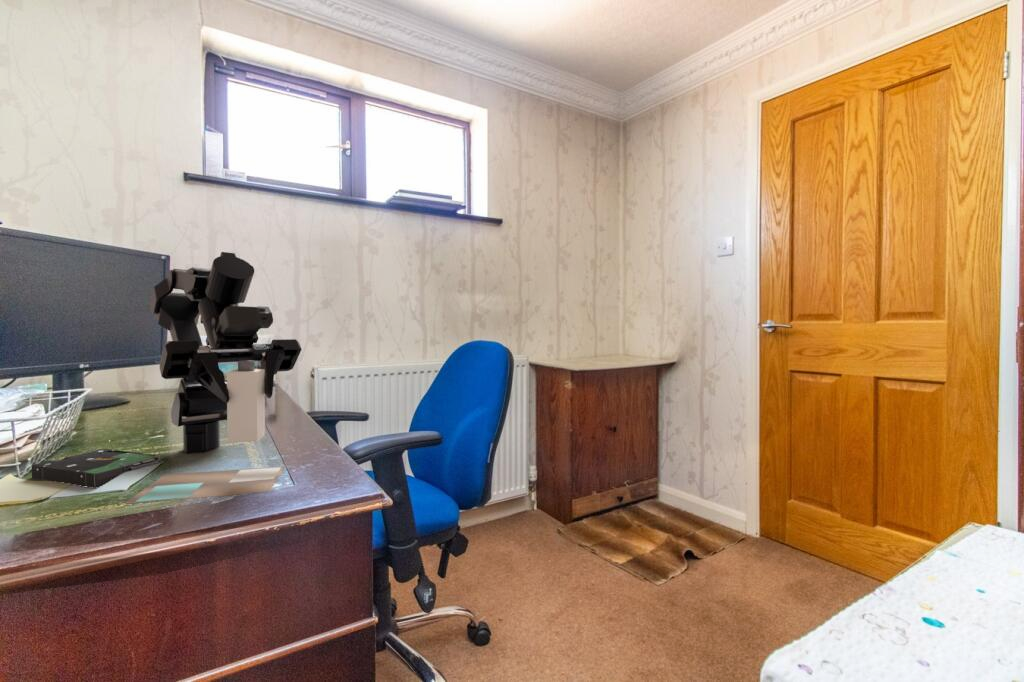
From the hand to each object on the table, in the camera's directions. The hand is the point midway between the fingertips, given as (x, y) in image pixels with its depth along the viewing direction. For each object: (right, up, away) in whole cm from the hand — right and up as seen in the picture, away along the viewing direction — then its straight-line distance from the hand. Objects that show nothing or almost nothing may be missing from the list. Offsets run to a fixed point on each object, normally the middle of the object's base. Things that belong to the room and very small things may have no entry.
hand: (249, 398), depth 69 cm
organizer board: (-4, -14, -1) cm, 14 cm away
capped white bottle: (-1, -6, +1) cm, 7 cm away
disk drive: (-28, -14, +6) cm, 32 cm away
